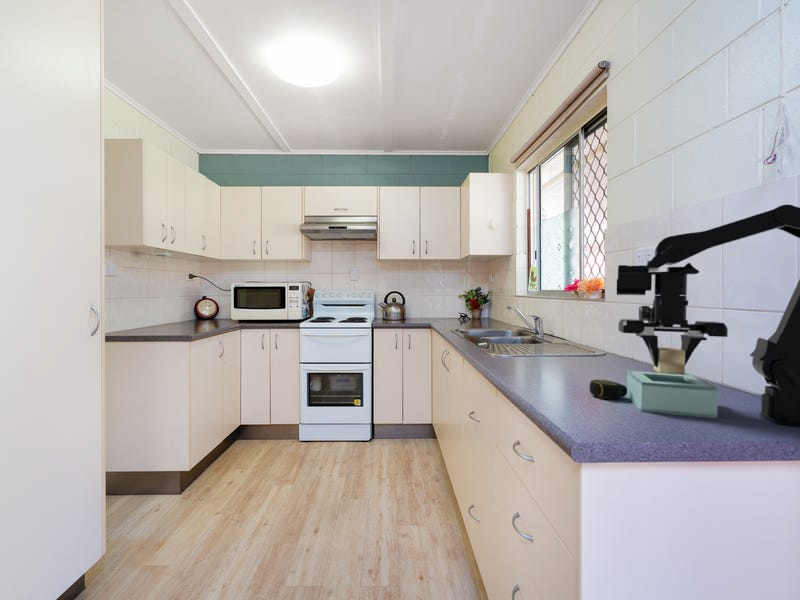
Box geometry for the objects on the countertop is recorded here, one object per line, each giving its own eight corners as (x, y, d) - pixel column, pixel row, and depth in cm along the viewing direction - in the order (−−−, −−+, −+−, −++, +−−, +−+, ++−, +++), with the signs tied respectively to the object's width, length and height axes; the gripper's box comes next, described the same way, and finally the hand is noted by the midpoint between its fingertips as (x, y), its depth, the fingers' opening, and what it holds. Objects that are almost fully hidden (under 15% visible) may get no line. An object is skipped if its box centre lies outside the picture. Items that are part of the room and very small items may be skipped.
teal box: (691, 401, 88) (692, 375, 88) (717, 418, 76) (718, 388, 76) (627, 395, 92) (627, 370, 92) (641, 411, 80) (641, 382, 80)
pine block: (677, 370, 85) (677, 348, 85) (684, 374, 81) (685, 351, 81) (653, 369, 87) (654, 347, 87) (659, 373, 83) (660, 349, 82)
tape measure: (629, 400, 89) (629, 384, 89) (605, 402, 87) (605, 385, 87) (605, 392, 96) (605, 377, 95) (582, 394, 93) (583, 379, 93)
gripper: (706, 295, 88) (704, 363, 88) (614, 295, 94) (613, 358, 95) (729, 296, 78) (727, 373, 78) (624, 295, 84) (623, 366, 84)
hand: (668, 367), depth 84 cm, fingers closed on pine block, 4 cm apart
